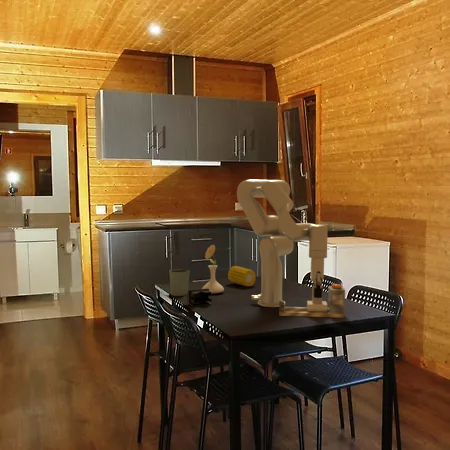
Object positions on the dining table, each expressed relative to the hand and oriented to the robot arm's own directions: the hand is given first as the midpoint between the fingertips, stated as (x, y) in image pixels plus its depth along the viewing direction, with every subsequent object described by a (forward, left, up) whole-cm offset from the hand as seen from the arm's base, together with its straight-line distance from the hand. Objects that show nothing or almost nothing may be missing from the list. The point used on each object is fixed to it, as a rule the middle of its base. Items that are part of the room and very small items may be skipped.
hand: (317, 295), depth 218 cm
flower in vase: (-50, +38, -8) cm, 63 cm away
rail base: (-2, 0, -8) cm, 9 cm away
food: (-36, +61, -8) cm, 72 cm away
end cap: (-53, +13, -8) cm, 55 cm away
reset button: (+8, 0, +3) cm, 9 cm away
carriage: (0, 0, -6) cm, 6 cm away
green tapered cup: (-66, +34, -8) cm, 74 cm away
